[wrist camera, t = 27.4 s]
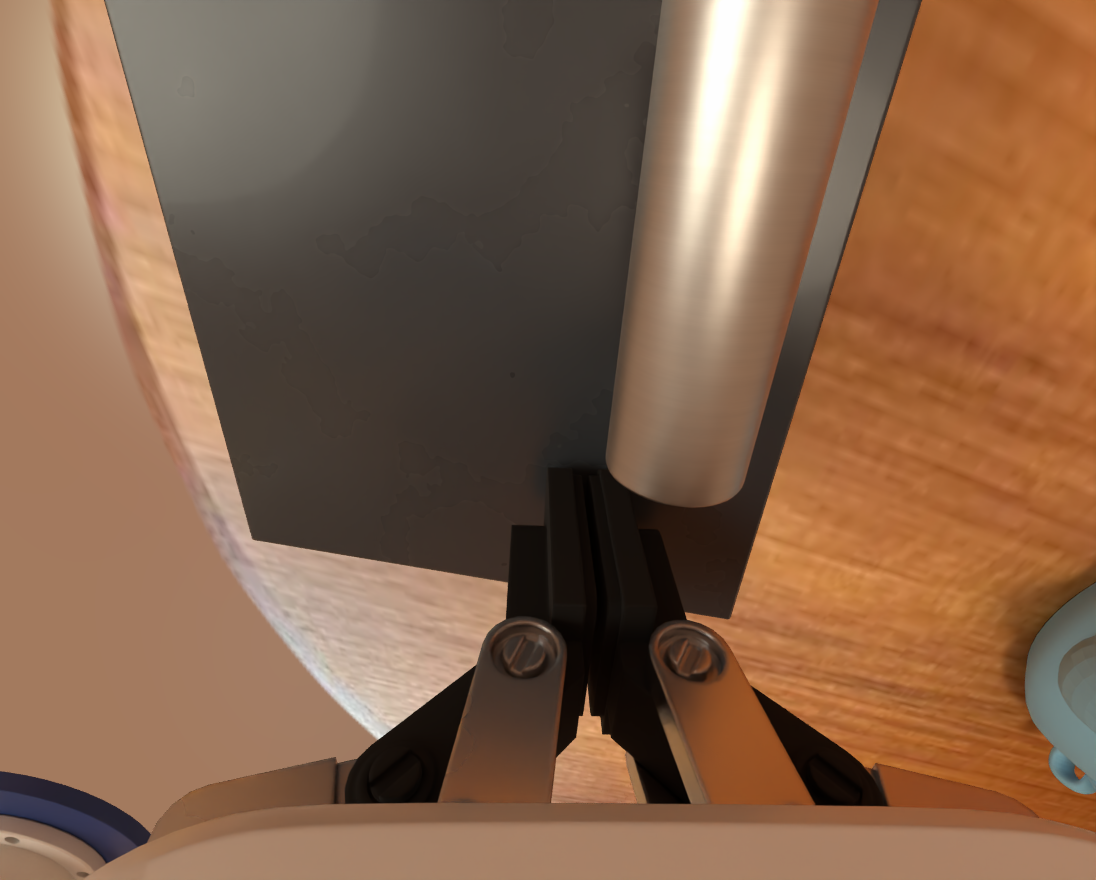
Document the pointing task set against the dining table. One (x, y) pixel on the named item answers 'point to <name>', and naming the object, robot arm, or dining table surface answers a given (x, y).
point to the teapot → (1067, 689)
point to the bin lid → (508, 253)
